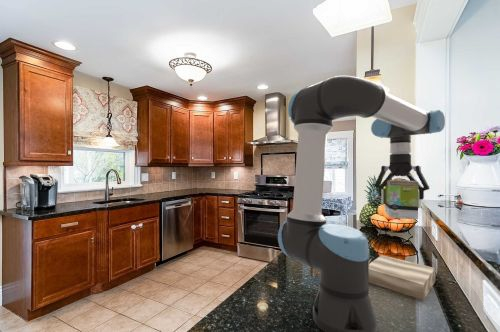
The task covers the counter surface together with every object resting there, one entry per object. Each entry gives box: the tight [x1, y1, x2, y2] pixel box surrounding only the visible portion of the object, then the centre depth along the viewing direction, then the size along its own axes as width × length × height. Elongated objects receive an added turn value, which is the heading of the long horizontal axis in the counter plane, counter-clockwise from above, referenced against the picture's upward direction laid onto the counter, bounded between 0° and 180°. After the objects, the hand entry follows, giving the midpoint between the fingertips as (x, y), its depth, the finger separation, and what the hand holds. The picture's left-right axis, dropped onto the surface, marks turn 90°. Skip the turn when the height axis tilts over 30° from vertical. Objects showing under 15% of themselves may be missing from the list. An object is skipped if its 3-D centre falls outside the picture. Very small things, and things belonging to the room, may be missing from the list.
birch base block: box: [369, 254, 436, 301], centre depth 84 cm, size 17×17×5 cm
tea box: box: [384, 179, 419, 220], centre depth 101 cm, size 15×10×15 cm
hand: (400, 205), depth 101 cm, fingers closed on tea box, 12 cm apart
